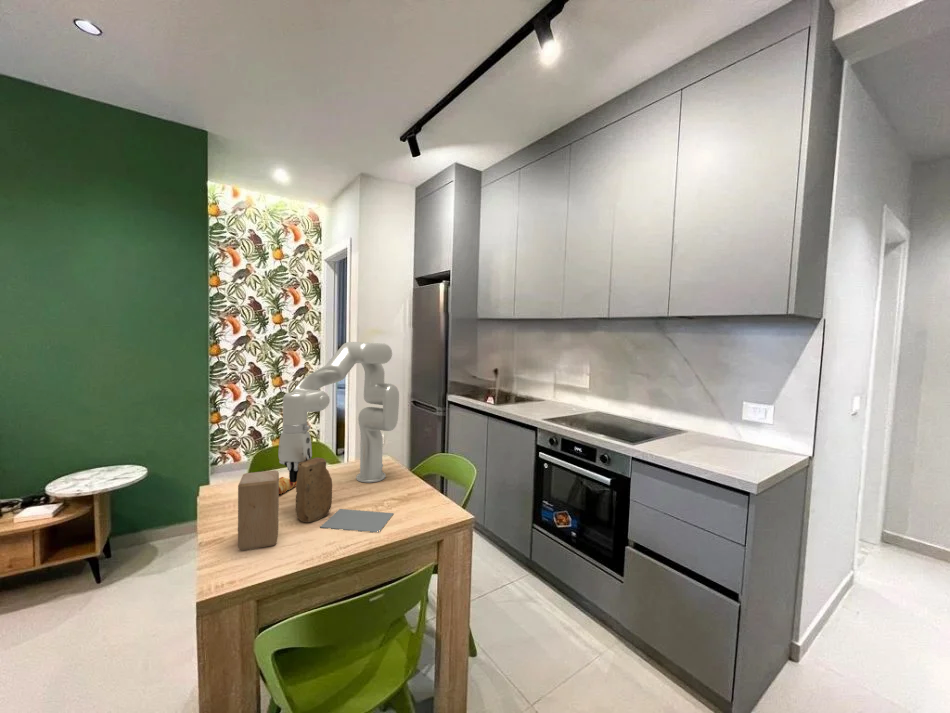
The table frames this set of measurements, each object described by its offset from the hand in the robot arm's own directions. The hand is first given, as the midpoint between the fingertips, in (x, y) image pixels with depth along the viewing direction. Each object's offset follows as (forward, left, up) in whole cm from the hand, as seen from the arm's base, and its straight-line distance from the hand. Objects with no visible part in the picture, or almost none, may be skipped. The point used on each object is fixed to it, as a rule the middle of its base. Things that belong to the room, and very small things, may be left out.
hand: (294, 480), depth 136 cm
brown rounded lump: (0, +7, -12) cm, 14 cm away
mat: (0, +23, -12) cm, 26 cm away
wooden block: (+18, 0, -12) cm, 22 cm away
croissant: (-16, -19, -12) cm, 28 cm away
